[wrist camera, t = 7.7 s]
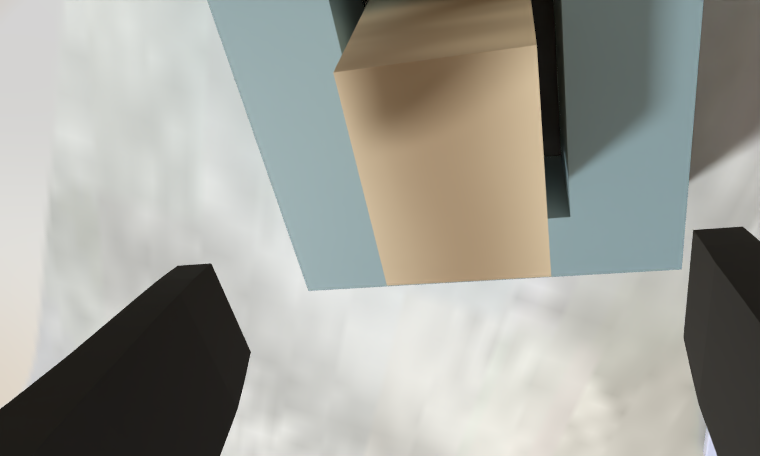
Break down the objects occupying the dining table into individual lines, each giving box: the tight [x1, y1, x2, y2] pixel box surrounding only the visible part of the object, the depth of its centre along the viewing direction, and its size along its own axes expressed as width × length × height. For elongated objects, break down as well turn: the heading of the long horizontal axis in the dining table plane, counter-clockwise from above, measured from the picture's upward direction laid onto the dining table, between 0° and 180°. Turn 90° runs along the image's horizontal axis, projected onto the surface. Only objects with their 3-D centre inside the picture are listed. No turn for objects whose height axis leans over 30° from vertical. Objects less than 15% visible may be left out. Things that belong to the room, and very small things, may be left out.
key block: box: [333, 0, 551, 286], centre depth 15 cm, size 4×5×6 cm
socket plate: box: [207, 0, 704, 291], centre depth 16 cm, size 10×10×3 cm
